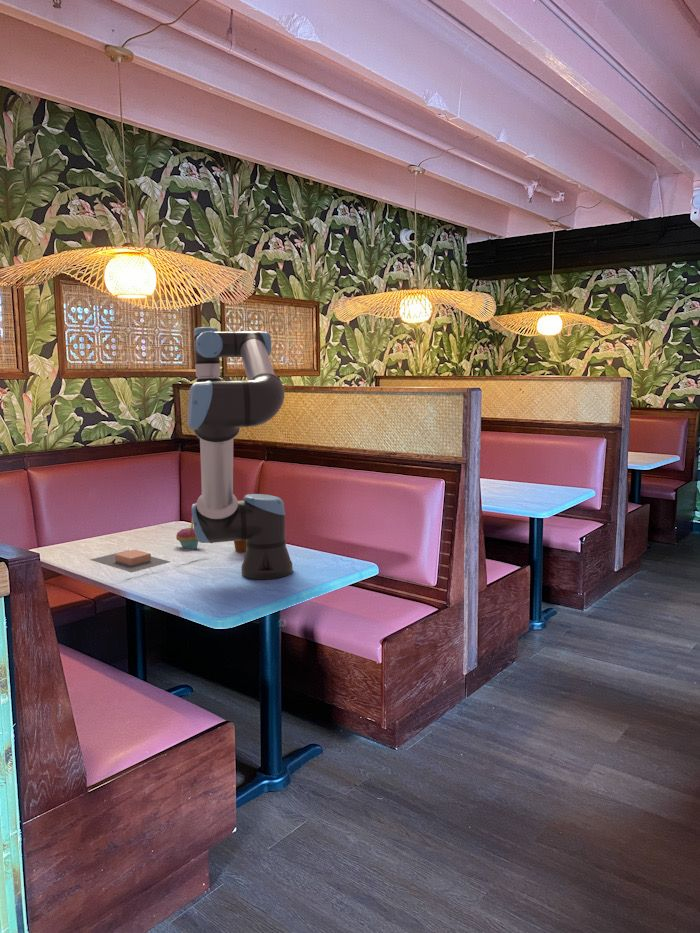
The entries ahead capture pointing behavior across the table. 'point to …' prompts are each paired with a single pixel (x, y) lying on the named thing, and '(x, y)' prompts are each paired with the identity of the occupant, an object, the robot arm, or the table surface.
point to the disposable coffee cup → (240, 545)
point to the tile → (133, 557)
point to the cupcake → (188, 538)
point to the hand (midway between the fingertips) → (212, 452)
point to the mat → (111, 562)
